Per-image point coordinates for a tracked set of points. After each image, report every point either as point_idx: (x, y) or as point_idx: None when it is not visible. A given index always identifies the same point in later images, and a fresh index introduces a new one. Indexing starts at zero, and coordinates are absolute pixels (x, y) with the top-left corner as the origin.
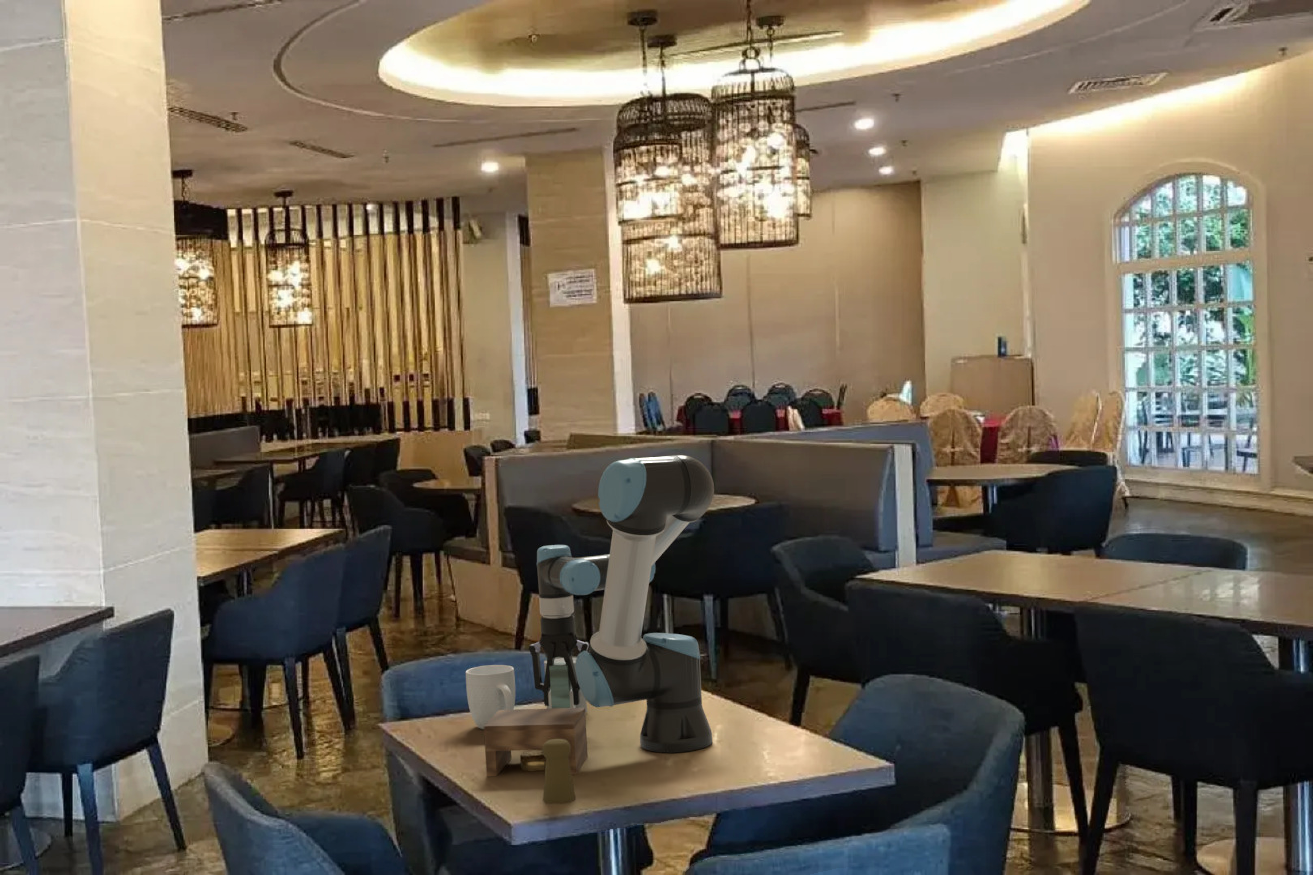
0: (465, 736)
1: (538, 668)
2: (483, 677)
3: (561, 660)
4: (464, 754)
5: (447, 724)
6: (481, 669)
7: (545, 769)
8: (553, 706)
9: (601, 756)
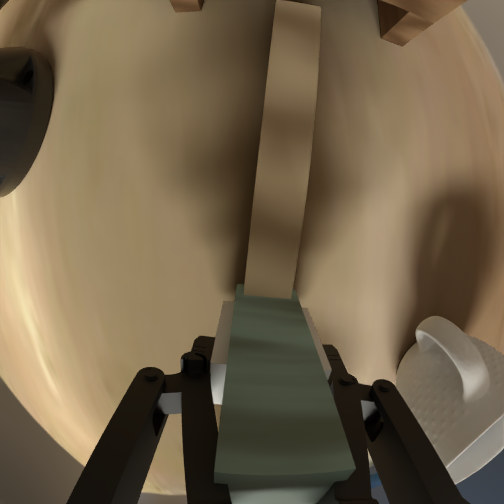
0: (479, 282)
1: (409, 454)
2: None
3: None
4: (478, 116)
5: None
6: (480, 460)
7: None
8: (300, 324)
9: (142, 11)
